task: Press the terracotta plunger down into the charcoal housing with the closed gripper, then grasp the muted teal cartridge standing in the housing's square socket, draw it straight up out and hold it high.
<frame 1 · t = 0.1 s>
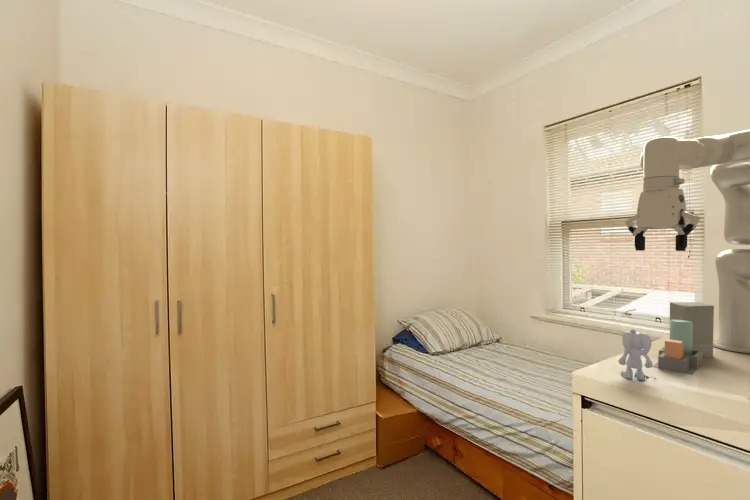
hand: (659, 250, 100), 31 cm above the table, tool pointing down, fingers open, 9 cm apart
toy figurine: (634, 378, 92), on the table
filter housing: (677, 368, 99), on the table
cartridge: (680, 361, 102), point 1 cm above the table, touching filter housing
skincare box: (690, 357, 111), on the table
plunger: (673, 350, 96), point 6 cm above the table, slide at 0.0 cm
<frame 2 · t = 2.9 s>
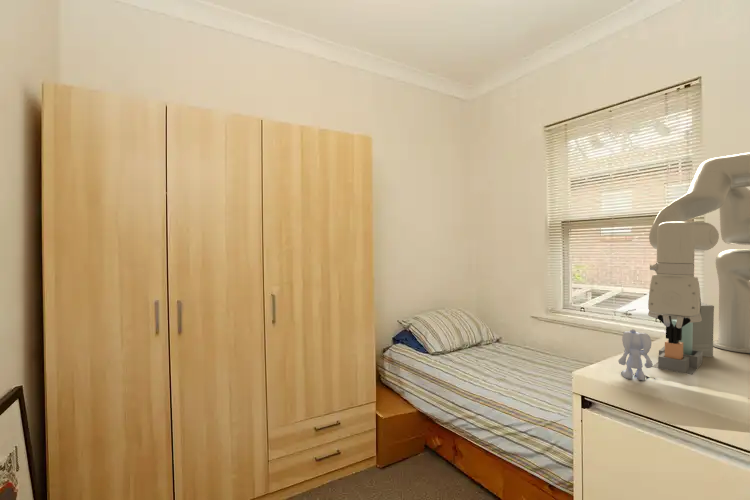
hand: (673, 342, 96), 8 cm above the table, tool pointing down, fingers closed
plunger: (673, 352, 96), point 5 cm above the table, slide at -0.4 cm, touching gripper
everything else where it was.
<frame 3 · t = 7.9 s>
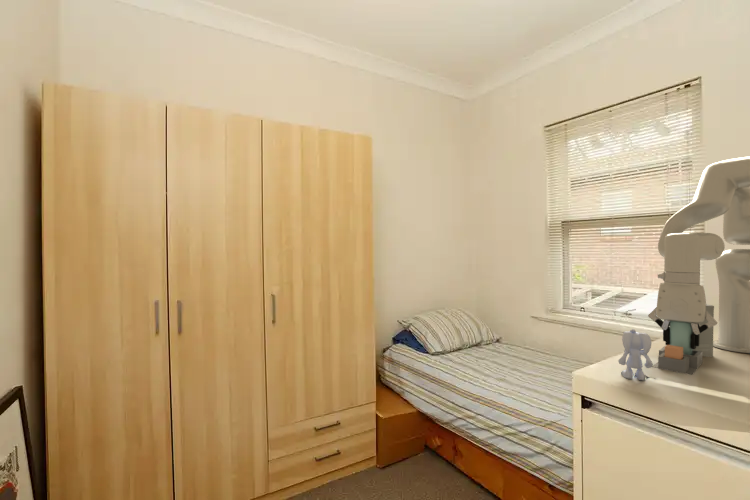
hand: (680, 345, 102), 5 cm above the table, tool pointing down, fingers closed on cartridge, 4 cm apart
cartridge: (680, 361, 102), point 1 cm above the table, touching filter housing, gripper
plunger: (673, 356, 96), point 4 cm above the table, slide at -1.5 cm
everything else where it was.
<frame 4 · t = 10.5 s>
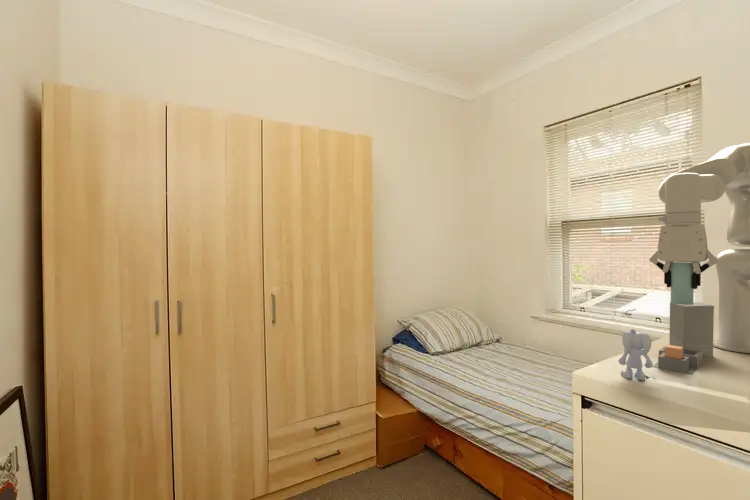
hand: (681, 287, 102), 21 cm above the table, tool pointing down, fingers closed on cartridge, 4 cm apart
cartridge: (681, 303, 102), point 17 cm above the table, touching gripper
everything else where it was.
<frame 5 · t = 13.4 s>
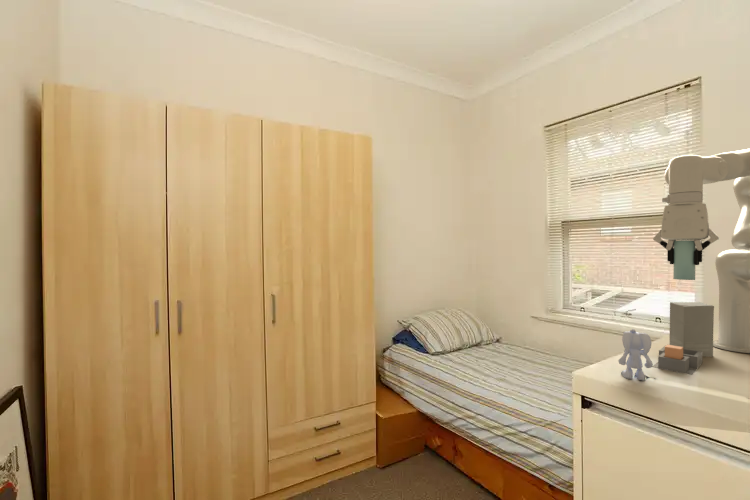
hand: (684, 263, 107), 27 cm above the table, tool pointing down, fingers closed on cartridge, 4 cm apart
cartridge: (684, 279, 107), point 23 cm above the table, touching gripper
everything else where it was.
at the end: plunger slide at -1.5 cm; cartridge point 22.9 cm above the table; the gripper is holding cartridge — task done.
